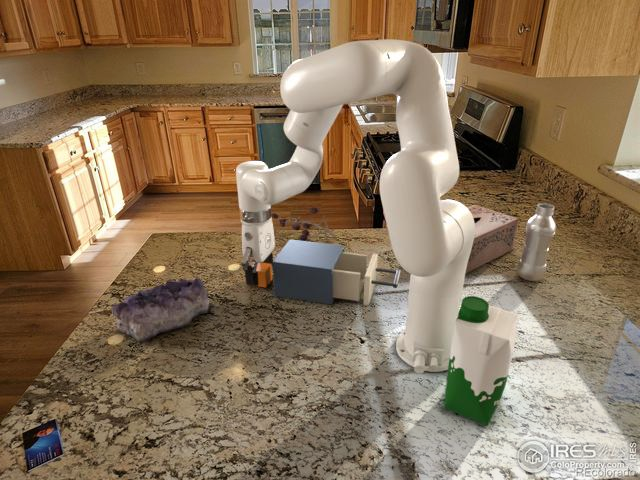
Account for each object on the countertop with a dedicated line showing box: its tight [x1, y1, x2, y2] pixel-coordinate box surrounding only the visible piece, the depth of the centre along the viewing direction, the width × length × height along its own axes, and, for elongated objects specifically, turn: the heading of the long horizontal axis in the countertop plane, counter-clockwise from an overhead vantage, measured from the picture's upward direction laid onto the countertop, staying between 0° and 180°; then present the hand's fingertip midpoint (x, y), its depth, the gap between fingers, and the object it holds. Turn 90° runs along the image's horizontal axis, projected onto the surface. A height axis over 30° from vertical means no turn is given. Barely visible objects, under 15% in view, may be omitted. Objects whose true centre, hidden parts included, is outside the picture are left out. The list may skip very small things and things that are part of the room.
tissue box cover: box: [465, 204, 519, 275], centre depth 121 cm, size 26×14×10 cm, turn 127°
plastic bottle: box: [516, 203, 557, 282], centre depth 106 cm, size 6×7×20 cm
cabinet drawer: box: [333, 251, 402, 306], centre depth 103 cm, size 20×11×8 cm, turn 74°
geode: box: [111, 277, 211, 343], centre depth 94 cm, size 20×12×10 cm, turn 130°
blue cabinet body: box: [272, 239, 345, 306], centre depth 106 cm, size 15×13×10 cm
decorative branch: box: [271, 206, 338, 243], centre depth 136 cm, size 11×9×30 cm
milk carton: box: [444, 295, 519, 427], centre depth 69 cm, size 9×9×20 cm
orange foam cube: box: [251, 262, 273, 288], centre depth 109 cm, size 4×4×4 cm
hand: (260, 274), depth 110 cm, fingers open, 9 cm apart
